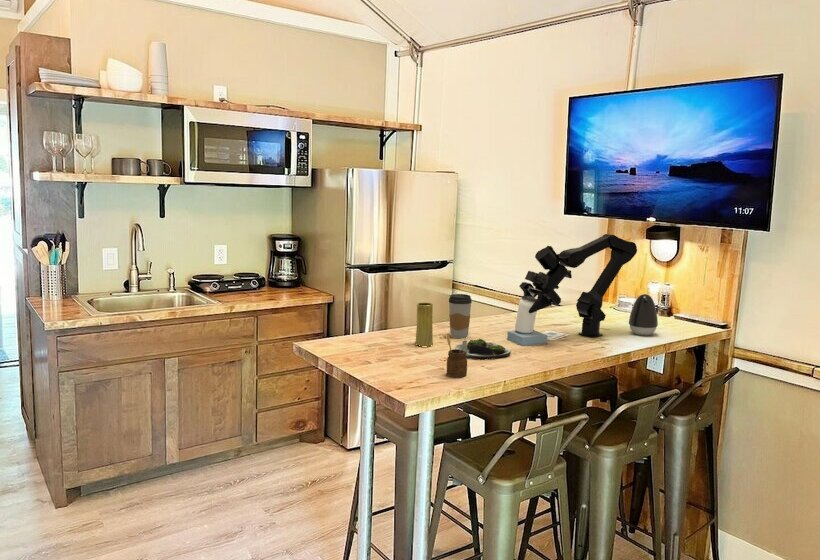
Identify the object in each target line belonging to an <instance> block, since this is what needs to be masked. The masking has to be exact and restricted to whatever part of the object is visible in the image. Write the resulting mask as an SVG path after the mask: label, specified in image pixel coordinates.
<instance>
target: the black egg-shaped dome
mask: <svg viewBox="0 0 820 560" xmlns="http://www.w3.org/2000/svg"><path fill="white" fill-rule="evenodd" d="M658 319H659V318H658V312H657V308H656V304H655V301H654V300H653V298H652V296H650V295H649V294H648V293H647V294H646V293H645V294H644V293H642V294H640V295H638V297H637V298H636V300H635V301H634V303H633V305H632V309H631V311H630V314H629V319H628V325H629V329H630V330H631V332H632V333H633V334H635V335H637V336H643V335H644V336H651V335H653V334H654V333H655V332H656V329H657V327H658V325H659V324H658V322H659V321H658Z"/></svg>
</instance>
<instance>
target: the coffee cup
mask: <svg viewBox="0 0 820 560" xmlns="http://www.w3.org/2000/svg"><path fill="white" fill-rule="evenodd" d="M472 303H473V301H472V297H471V295H469V294H465V293H454V294H452V293H451V294H450V295H449V298H448V306H449V307H448V308H449V315H448V317H449V318H448V319H449V335H450V337H451V336H452V337H451V338H453V337H454V338H453V339H466V337H467V338H468V337H469V336H468V335H469V329H470V322H471V321H470V320H471V307H472Z"/></svg>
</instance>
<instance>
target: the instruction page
mask: <svg viewBox="0 0 820 560" xmlns="http://www.w3.org/2000/svg"><path fill="white" fill-rule="evenodd" d="M541 333H543V334H545V335H547V341H556V340H560V339H561V338H564V337H565V338H566V337H568V336H570V334H568V333H563V332H558V331H553V330H546V331H541Z"/></svg>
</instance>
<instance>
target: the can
mask: <svg viewBox="0 0 820 560" xmlns="http://www.w3.org/2000/svg"><path fill="white" fill-rule="evenodd" d="M520 298H521V299H520V300H519V301H518V307H517V308H518V309H517V312H516V318H515V323H514V324H515V325H514V329H515V330H516V331H518V332H520V333H524V334H530V333H532V332H533V330H534V327H535V324H536V323H535V321H536V317H537V312H538V311H536V312H533V313H531V314H530V313H529V310H530V308H531V307H532V305H533V304H534V303H535V301H536V300H537V298H536V297H535V298H534V297H529V296H524V295H523V296H521V297H520Z"/></svg>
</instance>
